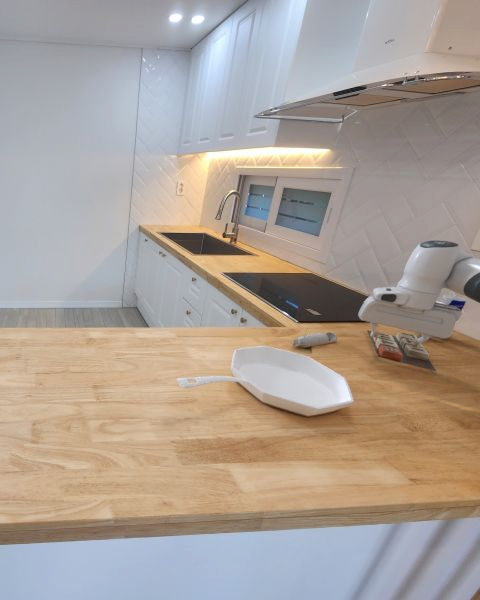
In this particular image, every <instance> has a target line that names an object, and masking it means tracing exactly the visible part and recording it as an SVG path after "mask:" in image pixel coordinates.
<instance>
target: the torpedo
mask: <svg viewBox="0 0 480 600" xmlns="http://www.w3.org/2000/svg"><path fill="white" fill-rule="evenodd" d="M308 330H309V328H307V327H306V330H305V333H304V335H301V336H299V337H298V338H295V339H294V340H292V341H291V344H292V346H291V347H300V348H303V349H304V348H312V347H317V346H323V345H327V344H332V343H336V342H337V340H338V335H337V334H336V333H334V332H332V331H327V332H326V333H323V332H318V333H313V334H307V331H308ZM306 334H307V335H306Z"/></svg>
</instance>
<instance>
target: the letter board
mask: <svg viewBox="0 0 480 600" xmlns="http://www.w3.org/2000/svg"><path fill="white" fill-rule="evenodd" d="M366 332H367V334H368V336H369V338H370V341H371V343H372V345H373V348H374V350H375V353H376V355H377V357H378V358H381V359H385V360H388V361H389V360H390V361H393V362H398V363H402V364H406V365H409V366H413V367H418V368H422V369H426V370H430V371H433V372H437V369H436V368H435V366H434V365H433V363H432V362H431V361H430V359H429V358H428V359H427V361H426V360H422V359H418V358H414V357H410V356H407V355H406V353H405V351H404V349H403V348H402V346H401V345H400V342H399V341H398V340H397V338H396V335H392V337H393V338H394V340H395V342H396V344H397V345H398V347H399V348H398V349H400V351H401V352H402V354H403V357H402V359H401V361H398V360H394V359H390V358H386V357H382V356H381V355H380V353H379V351H378V350H379V349H378V348H377V346H376V344H375V343H376V342H374V339H373V337H371V336H370V334H371V332H372V330H368V329H367V330H366Z"/></svg>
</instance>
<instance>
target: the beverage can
mask: <svg viewBox="0 0 480 600" xmlns="http://www.w3.org/2000/svg"><path fill="white" fill-rule="evenodd" d="M439 302H442V303H445V304H446V305H453V306H456V307H457V308H459V309H460V310H461V312H462V311H463V309H464V307H465V305H466V302H467V299H466V298H463V297H462V296H461V297H460V296H458V295H453V294H443V295H442V296H441V298H440V300H439ZM456 310H457V309H456ZM431 337H432V338H436V339H441V340H447V339H448V338H445V339H444V338H439V337H435V336H431Z"/></svg>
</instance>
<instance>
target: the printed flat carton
mask: <svg viewBox="0 0 480 600" xmlns="http://www.w3.org/2000/svg"><path fill="white" fill-rule="evenodd" d="M412 334H413V333H407V332H401V331H397V333H396V335H395V337H396V338H397V340H398V341H399V342H400V345H401V346H402V348H403V349H404V351H405V353H406V355H407V356H410V357H414V358H418V359H422V360H426V361H427V359H429V358H430V353H429V352H428V350H427V349H426V348H425V346H424V345H423V343H421V344H420V346H419V348H417V347H413V346H412V345H411V342H412V340H413V339H415V340H417V339H419V338H418V337H416V335H412Z"/></svg>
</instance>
